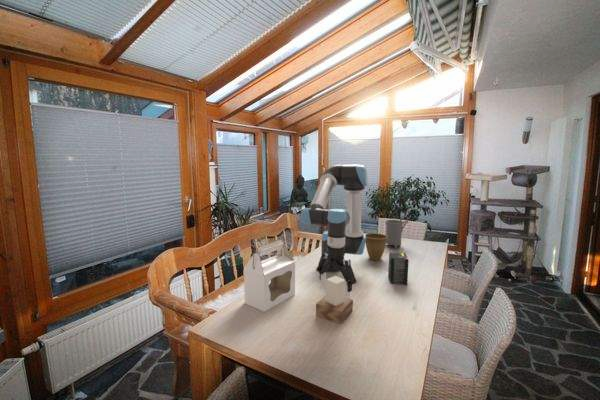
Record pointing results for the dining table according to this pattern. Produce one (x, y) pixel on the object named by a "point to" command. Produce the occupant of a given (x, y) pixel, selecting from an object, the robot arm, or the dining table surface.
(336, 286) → the cream block
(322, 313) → the walnut block
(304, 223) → the robot arm
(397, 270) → the tampon box
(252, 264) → the gable box
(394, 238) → the grey pitcher
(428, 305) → the dining table surface
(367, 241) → the plant pot
